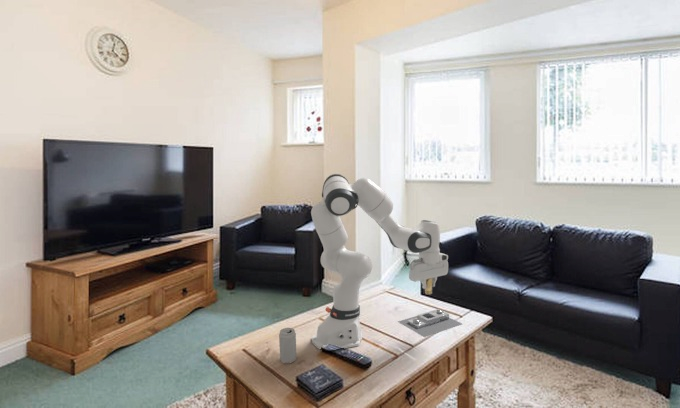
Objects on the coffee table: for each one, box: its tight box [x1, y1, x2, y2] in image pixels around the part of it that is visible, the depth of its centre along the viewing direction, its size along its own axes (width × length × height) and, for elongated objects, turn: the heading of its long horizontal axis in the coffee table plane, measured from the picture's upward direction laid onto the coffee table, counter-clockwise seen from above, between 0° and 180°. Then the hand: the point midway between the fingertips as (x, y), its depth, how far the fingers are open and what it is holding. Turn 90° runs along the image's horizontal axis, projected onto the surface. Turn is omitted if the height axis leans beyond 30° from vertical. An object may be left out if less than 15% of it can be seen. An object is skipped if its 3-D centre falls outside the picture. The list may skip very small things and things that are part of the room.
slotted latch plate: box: [408, 308, 450, 329], centre depth 172 cm, size 20×7×3 cm, turn 120°
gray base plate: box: [397, 315, 463, 338], centre depth 170 cm, size 24×18×1 cm
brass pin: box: [424, 278, 433, 296], centre depth 159 cm, size 3×3×8 cm
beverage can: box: [278, 327, 297, 364], centre depth 140 cm, size 6×6×12 cm
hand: (428, 287), depth 159 cm, fingers closed on brass pin, 3 cm apart
